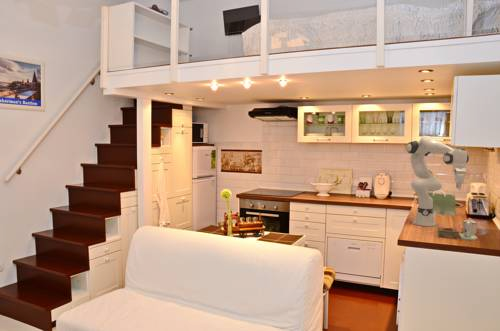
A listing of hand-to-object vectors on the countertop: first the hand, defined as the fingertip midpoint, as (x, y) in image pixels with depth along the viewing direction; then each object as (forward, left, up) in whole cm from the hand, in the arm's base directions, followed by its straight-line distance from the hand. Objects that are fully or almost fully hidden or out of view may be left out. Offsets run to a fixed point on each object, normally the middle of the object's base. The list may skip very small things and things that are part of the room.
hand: (458, 188), depth 283 cm
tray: (+6, +7, -35) cm, 36 cm away
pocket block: (+6, -6, -35) cm, 36 cm away
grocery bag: (-94, -6, -35) cm, 100 cm away
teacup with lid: (-12, +9, -35) cm, 38 cm away
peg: (+6, +7, -34) cm, 35 cm away
